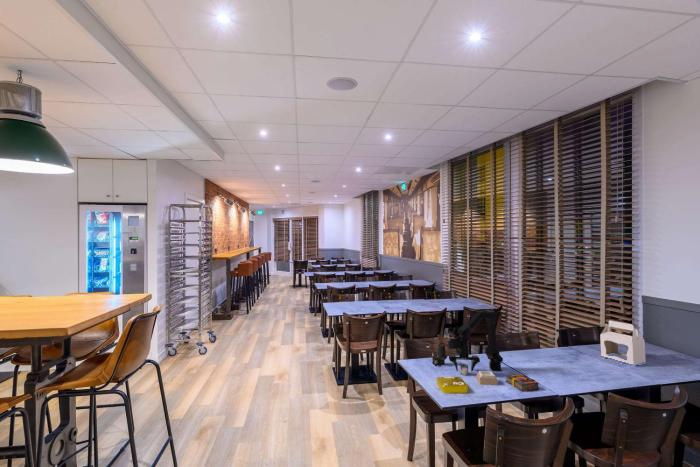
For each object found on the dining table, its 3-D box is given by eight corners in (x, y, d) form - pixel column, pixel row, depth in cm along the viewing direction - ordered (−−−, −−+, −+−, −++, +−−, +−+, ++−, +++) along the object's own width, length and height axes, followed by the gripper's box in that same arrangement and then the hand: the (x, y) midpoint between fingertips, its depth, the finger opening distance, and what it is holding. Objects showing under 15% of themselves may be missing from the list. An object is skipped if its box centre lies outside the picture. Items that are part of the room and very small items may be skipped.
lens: (467, 373, 222) (467, 364, 222) (469, 376, 217) (468, 366, 218) (459, 373, 223) (459, 363, 223) (461, 375, 218) (461, 366, 218)
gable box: (646, 364, 236) (644, 324, 238) (634, 367, 232) (632, 326, 233) (612, 355, 257) (610, 318, 259) (600, 357, 253) (598, 320, 254)
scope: (431, 343, 244) (444, 343, 245) (431, 363, 243) (445, 362, 244) (434, 346, 236) (448, 346, 236) (435, 366, 235) (449, 366, 236)
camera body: (493, 380, 210) (493, 371, 210) (497, 385, 202) (497, 375, 202) (476, 379, 211) (476, 370, 212) (480, 384, 203) (480, 375, 204)
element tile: (460, 383, 206) (460, 375, 206) (469, 394, 191) (469, 385, 191) (436, 383, 206) (435, 375, 206) (443, 394, 191) (442, 385, 191)
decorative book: (521, 380, 210) (521, 372, 210) (540, 391, 194) (540, 382, 194) (505, 382, 208) (505, 373, 208) (523, 392, 192) (522, 383, 192)
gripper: (475, 344, 228) (476, 368, 227) (447, 343, 230) (447, 367, 229) (479, 349, 217) (480, 373, 216) (450, 348, 219) (450, 372, 218)
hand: (464, 371), depth 220 cm, fingers open, 9 cm apart
